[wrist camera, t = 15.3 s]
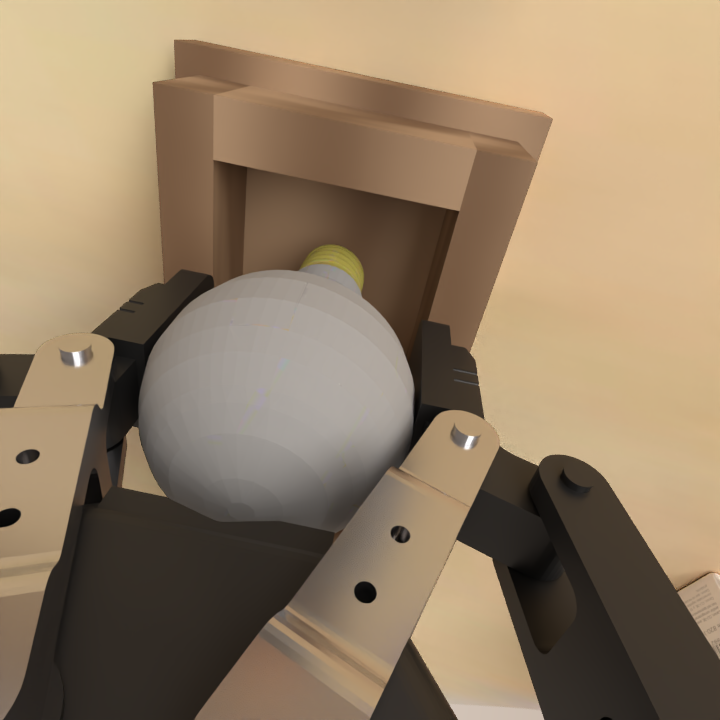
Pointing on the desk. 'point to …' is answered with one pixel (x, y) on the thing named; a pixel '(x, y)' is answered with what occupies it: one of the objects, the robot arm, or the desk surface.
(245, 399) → the light bulb
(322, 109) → the bulb rack
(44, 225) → the desk surface
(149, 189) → the desk surface
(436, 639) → the desk surface
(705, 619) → the ink cartridge box
